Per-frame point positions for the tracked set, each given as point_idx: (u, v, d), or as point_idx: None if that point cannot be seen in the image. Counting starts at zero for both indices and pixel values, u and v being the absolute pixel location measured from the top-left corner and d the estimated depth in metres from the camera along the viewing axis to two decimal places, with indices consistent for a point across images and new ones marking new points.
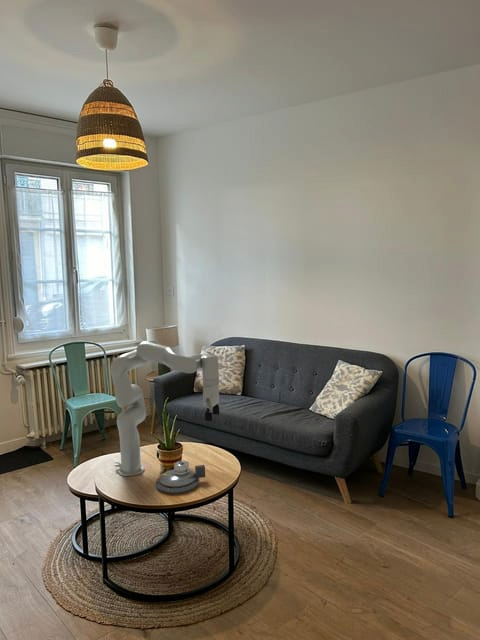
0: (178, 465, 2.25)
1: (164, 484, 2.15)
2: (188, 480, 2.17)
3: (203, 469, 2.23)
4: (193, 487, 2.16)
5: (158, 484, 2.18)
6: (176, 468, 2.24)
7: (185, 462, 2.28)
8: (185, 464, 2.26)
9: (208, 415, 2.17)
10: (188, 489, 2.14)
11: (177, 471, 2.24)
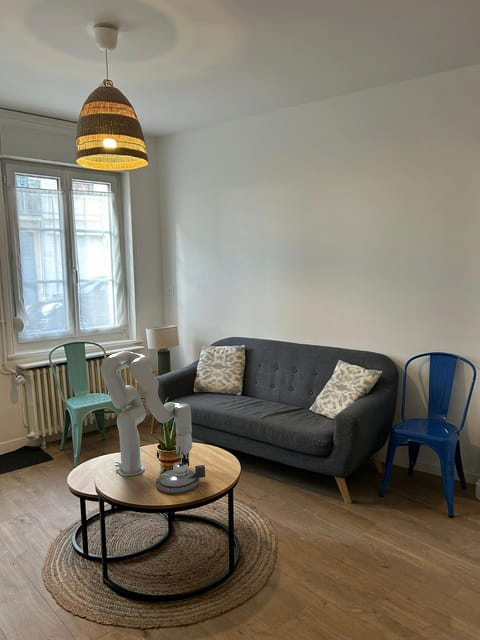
0: (177, 466, 2.23)
1: (164, 484, 2.15)
2: (188, 480, 2.17)
3: (203, 469, 2.23)
4: (193, 487, 2.16)
5: (158, 484, 2.18)
6: (175, 469, 2.22)
7: (184, 463, 2.26)
8: (184, 465, 2.24)
9: None
10: (188, 489, 2.14)
11: (176, 472, 2.22)
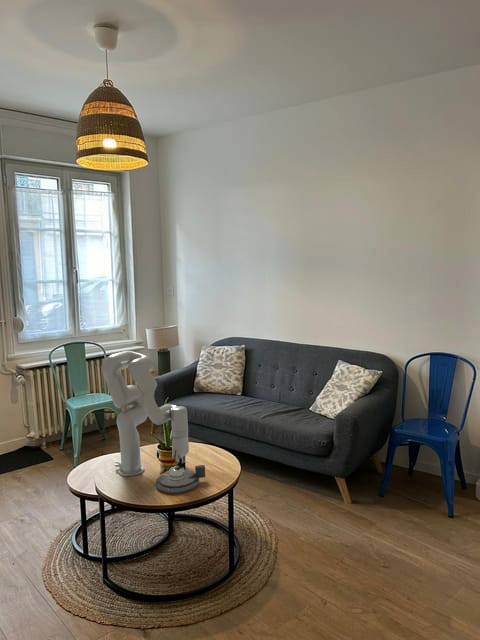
0: (173, 470, 2.19)
1: (164, 484, 2.15)
2: (188, 480, 2.17)
3: (203, 469, 2.23)
4: (193, 487, 2.16)
5: (158, 484, 2.18)
6: (171, 473, 2.18)
7: (180, 467, 2.22)
8: (180, 469, 2.20)
9: (181, 465, 2.25)
10: (188, 489, 2.14)
11: (172, 476, 2.18)
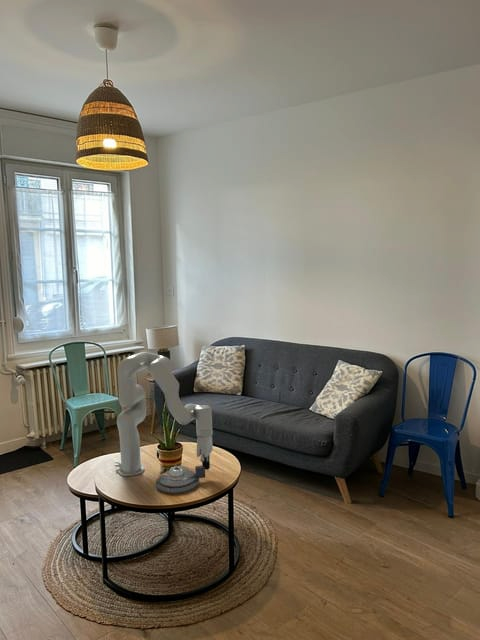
0: (173, 470, 2.19)
1: (163, 484, 2.16)
2: (188, 480, 2.17)
3: (203, 469, 2.23)
4: (193, 487, 2.16)
5: (158, 484, 2.18)
6: (171, 473, 2.18)
7: (180, 467, 2.22)
8: (180, 469, 2.20)
9: (205, 464, 2.26)
10: (188, 489, 2.14)
11: (172, 476, 2.18)
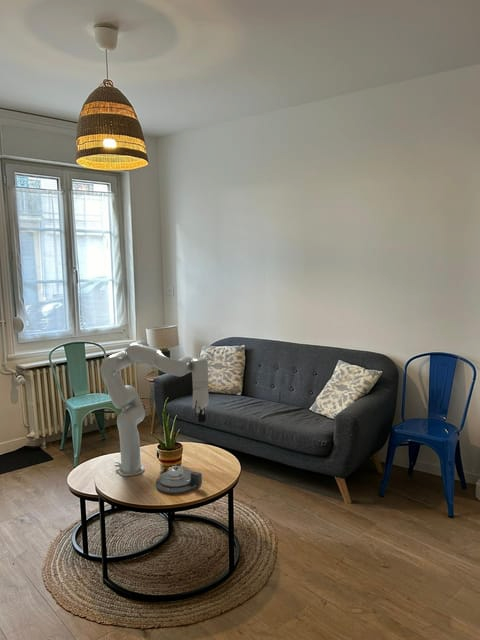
0: (170, 469, 2.21)
1: (159, 479, 2.21)
2: (177, 483, 2.15)
3: (197, 477, 2.15)
4: (193, 487, 2.16)
5: (158, 484, 2.18)
6: (168, 471, 2.21)
7: (180, 468, 2.21)
8: (176, 470, 2.19)
9: (201, 417, 2.26)
10: (188, 489, 2.14)
11: (168, 474, 2.20)
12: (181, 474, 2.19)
